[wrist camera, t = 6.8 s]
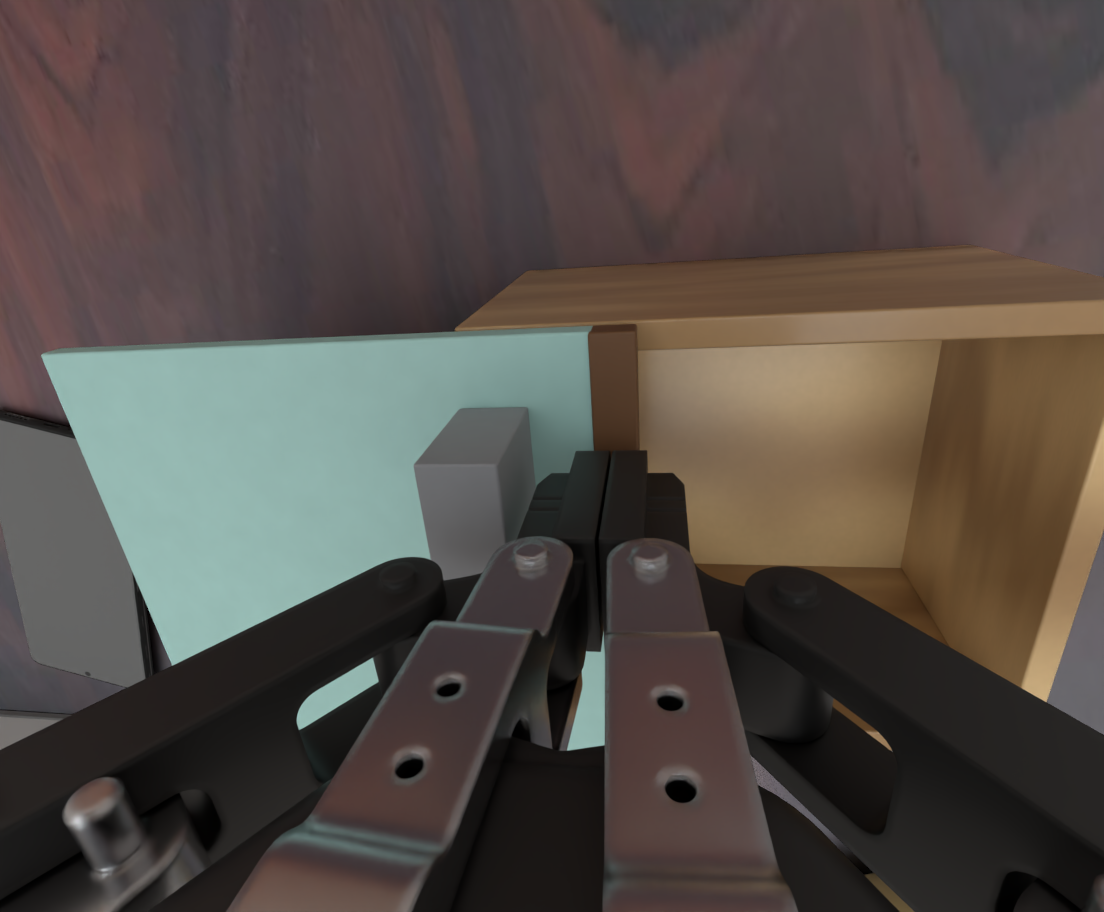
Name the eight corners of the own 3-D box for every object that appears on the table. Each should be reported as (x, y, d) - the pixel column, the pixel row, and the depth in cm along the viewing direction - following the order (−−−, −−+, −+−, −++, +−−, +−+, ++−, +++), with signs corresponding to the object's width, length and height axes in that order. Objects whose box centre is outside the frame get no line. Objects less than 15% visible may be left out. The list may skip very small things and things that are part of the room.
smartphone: (117, 446, 27) (148, 695, 33) (133, 438, 28) (160, 683, 34) (-30, 409, 27) (29, 663, 34) (-9, 402, 28) (44, 651, 34)
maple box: (526, 270, 22) (453, 327, 14) (972, 244, 20) (1184, 296, 12) (552, 563, 27) (510, 725, 19) (909, 571, 25) (1028, 761, 17)
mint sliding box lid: (59, 347, 16) (-96, 394, 12) (637, 323, 13) (631, 373, 10) (208, 712, 21) (126, 813, 17) (645, 743, 18) (643, 866, 15)
